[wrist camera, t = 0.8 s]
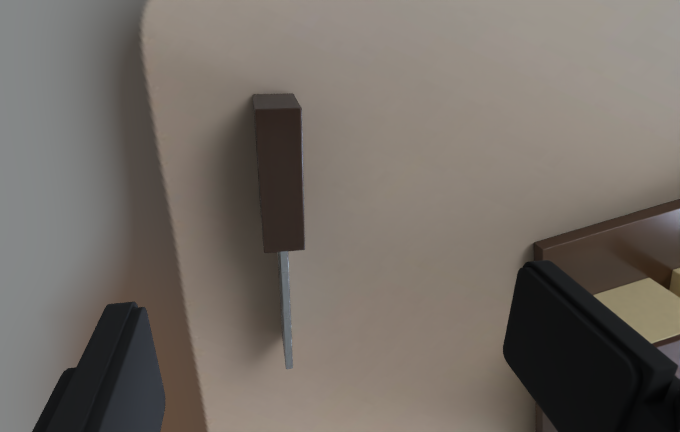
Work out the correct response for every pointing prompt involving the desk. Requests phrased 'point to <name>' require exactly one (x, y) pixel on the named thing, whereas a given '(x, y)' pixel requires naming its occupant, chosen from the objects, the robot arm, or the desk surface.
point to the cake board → (616, 256)
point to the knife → (281, 189)
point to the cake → (650, 312)
